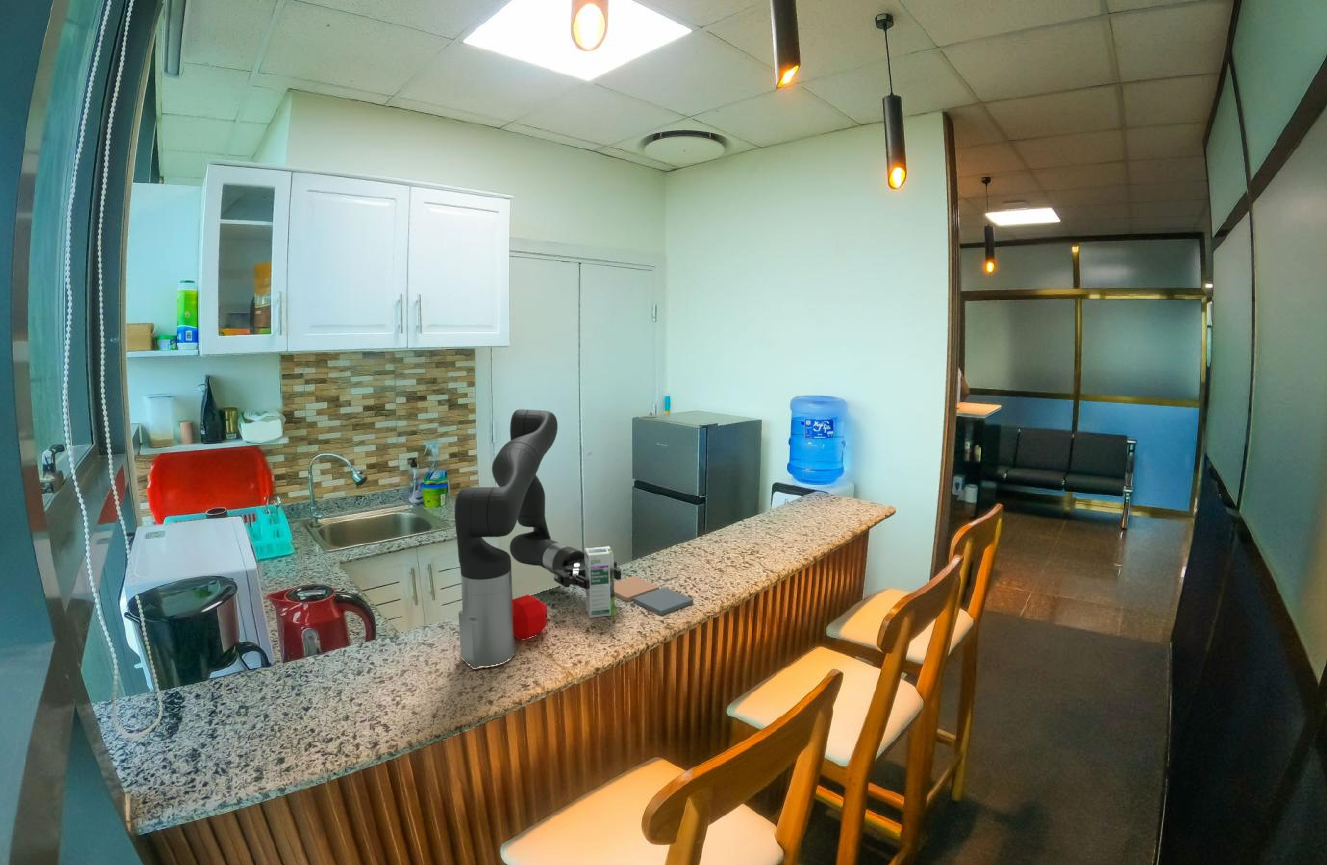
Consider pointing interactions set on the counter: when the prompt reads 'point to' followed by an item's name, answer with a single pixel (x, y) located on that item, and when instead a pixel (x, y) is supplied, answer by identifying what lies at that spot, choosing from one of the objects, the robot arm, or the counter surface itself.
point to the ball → (528, 616)
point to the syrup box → (600, 581)
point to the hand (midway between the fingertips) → (604, 580)
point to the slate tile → (663, 601)
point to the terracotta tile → (632, 588)
